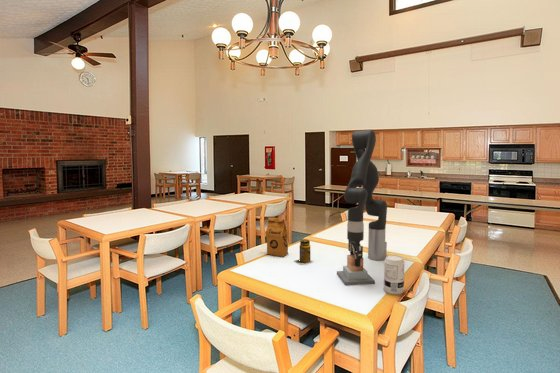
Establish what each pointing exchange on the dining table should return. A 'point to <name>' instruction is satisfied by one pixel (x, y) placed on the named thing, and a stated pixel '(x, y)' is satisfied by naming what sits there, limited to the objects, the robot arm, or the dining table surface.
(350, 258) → the cube
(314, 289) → the dining table surface
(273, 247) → the coffee package
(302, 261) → the condiment
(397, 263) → the supplement can
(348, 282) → the base
